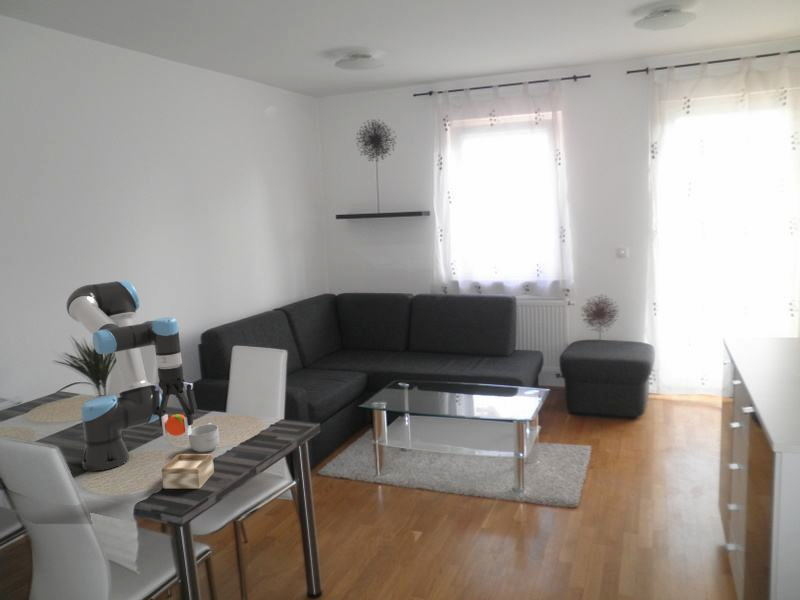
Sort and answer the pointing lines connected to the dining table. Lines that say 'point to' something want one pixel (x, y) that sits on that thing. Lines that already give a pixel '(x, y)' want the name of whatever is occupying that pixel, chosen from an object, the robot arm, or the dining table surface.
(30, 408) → the dining table surface
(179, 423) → the tomato
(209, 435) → the teacup
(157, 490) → the dining table surface
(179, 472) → the wooden box
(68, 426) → the dining table surface
